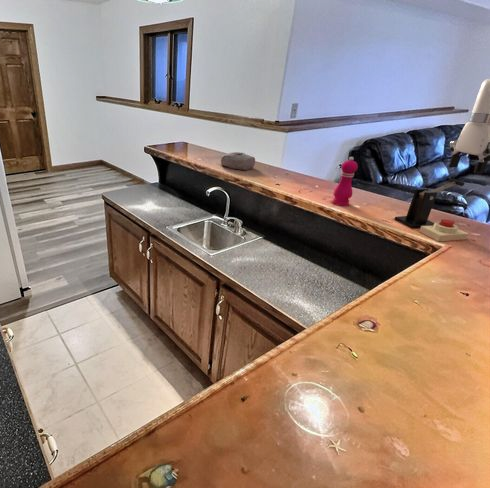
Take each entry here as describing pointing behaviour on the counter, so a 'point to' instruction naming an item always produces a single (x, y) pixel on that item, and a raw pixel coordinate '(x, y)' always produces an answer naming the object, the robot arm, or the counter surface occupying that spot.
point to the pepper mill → (345, 183)
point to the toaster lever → (443, 187)
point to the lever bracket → (419, 210)
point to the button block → (443, 232)
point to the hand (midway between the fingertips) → (464, 170)
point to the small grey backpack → (238, 161)
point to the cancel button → (446, 223)
